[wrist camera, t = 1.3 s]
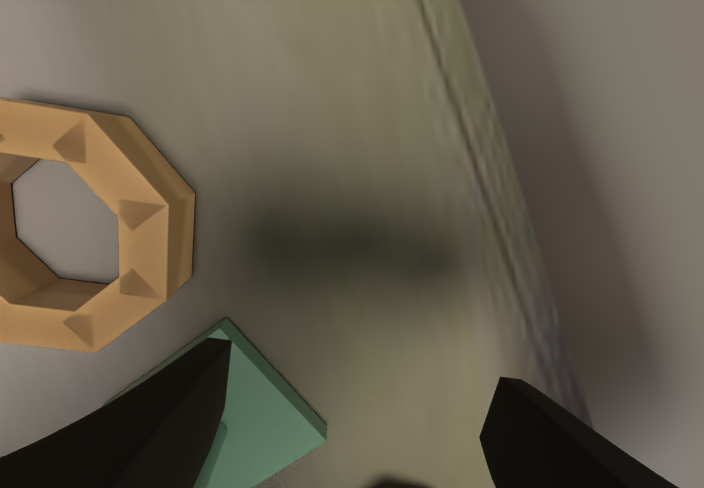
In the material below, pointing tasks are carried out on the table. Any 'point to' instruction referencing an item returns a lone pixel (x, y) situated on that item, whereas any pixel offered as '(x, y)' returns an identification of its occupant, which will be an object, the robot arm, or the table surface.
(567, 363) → the table surface
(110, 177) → the hanging ring
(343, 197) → the table surface
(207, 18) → the table surface
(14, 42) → the table surface
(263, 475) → the green peg stand
